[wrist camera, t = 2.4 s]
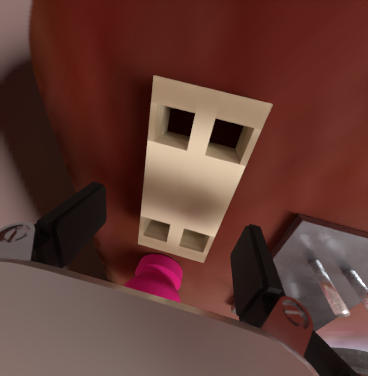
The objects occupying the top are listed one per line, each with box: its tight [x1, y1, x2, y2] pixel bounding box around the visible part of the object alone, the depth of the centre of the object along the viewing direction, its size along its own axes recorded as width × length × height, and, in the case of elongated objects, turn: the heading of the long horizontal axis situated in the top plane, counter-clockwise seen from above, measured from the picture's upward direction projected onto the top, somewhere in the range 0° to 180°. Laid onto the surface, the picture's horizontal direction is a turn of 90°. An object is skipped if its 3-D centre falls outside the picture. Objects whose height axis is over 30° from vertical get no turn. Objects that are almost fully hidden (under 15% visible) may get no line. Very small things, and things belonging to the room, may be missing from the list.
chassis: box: [231, 214, 368, 331], centre depth 18 cm, size 18×11×6 cm, turn 168°
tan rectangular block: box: [138, 75, 273, 263], centre depth 14 cm, size 14×7×4 cm, turn 168°
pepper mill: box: [124, 254, 183, 303], centre depth 15 cm, size 7×7×20 cm
